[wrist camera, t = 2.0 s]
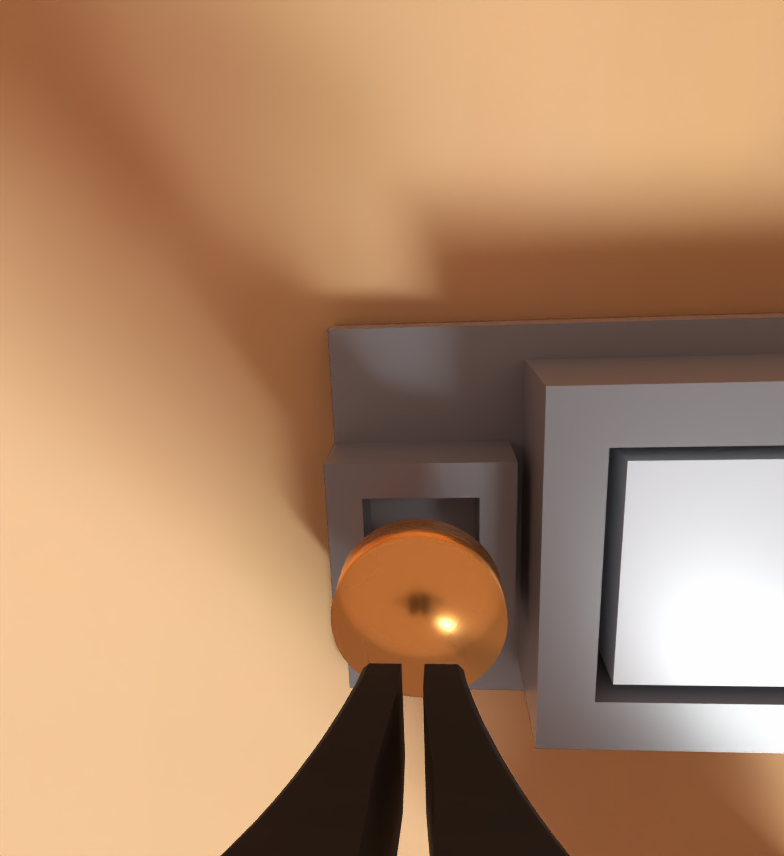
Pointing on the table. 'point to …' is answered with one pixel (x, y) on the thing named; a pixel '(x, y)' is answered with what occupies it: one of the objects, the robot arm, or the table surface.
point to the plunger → (420, 602)
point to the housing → (552, 486)
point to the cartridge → (694, 566)
